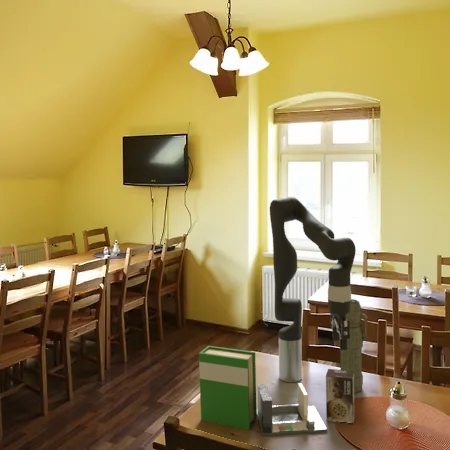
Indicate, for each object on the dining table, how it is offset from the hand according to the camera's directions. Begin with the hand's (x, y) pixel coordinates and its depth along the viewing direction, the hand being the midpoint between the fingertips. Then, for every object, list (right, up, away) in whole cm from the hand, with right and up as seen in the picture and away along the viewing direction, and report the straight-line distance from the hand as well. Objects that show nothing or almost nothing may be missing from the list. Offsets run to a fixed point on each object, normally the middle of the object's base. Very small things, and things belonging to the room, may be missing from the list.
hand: (339, 345), depth 162 cm
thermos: (+10, -23, +25) cm, 36 cm away
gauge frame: (-16, -26, +2) cm, 31 cm away
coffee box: (+1, -26, +3) cm, 26 cm away
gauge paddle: (-12, -25, 0) cm, 28 cm away
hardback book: (-37, -27, +4) cm, 46 cm away
